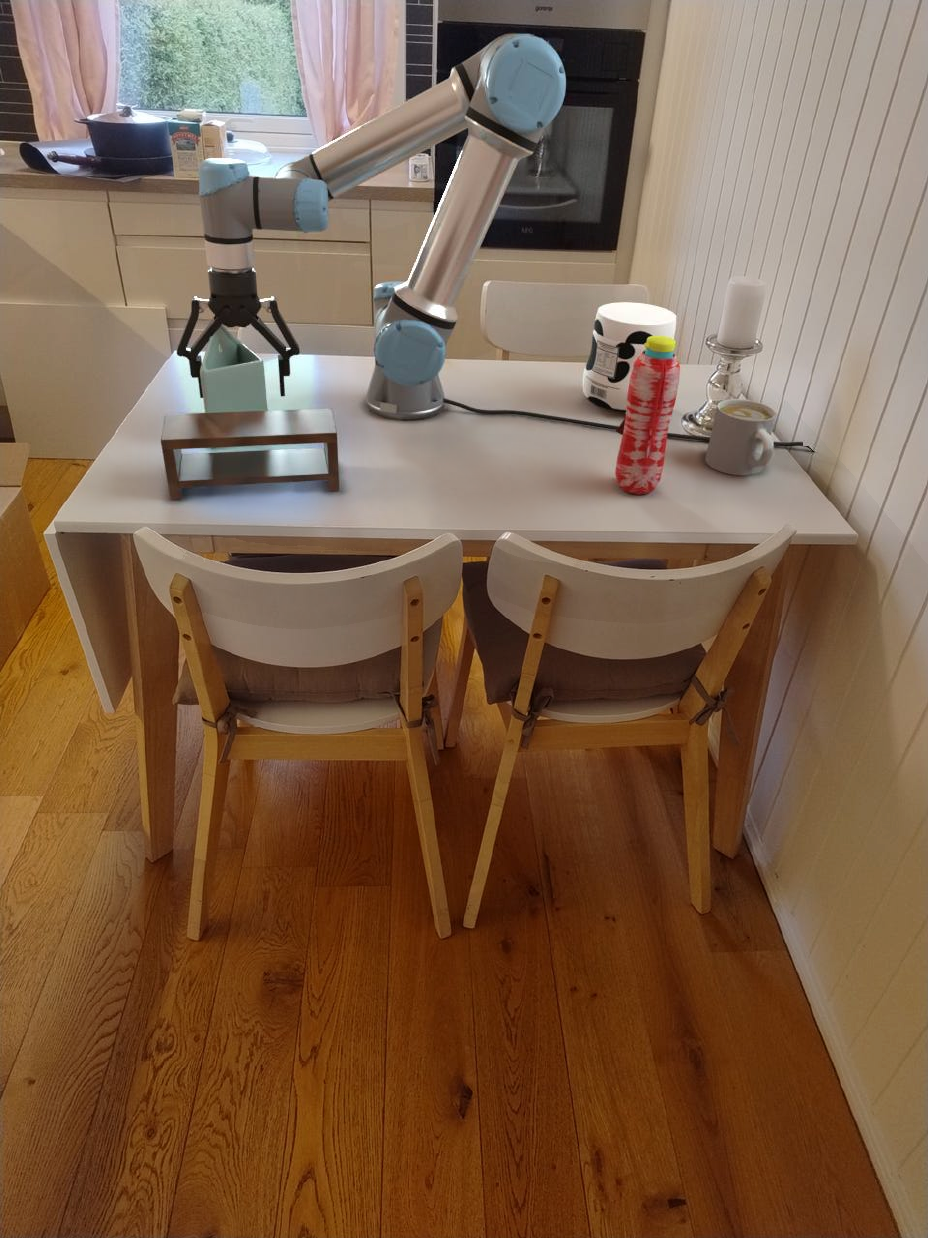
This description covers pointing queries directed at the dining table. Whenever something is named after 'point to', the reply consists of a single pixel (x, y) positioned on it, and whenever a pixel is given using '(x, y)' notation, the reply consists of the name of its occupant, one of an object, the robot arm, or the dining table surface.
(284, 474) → the shelf
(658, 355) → the water bottle
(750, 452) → the coffee mug
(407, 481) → the dining table surface
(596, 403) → the milk container
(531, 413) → the robot arm
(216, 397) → the planter
